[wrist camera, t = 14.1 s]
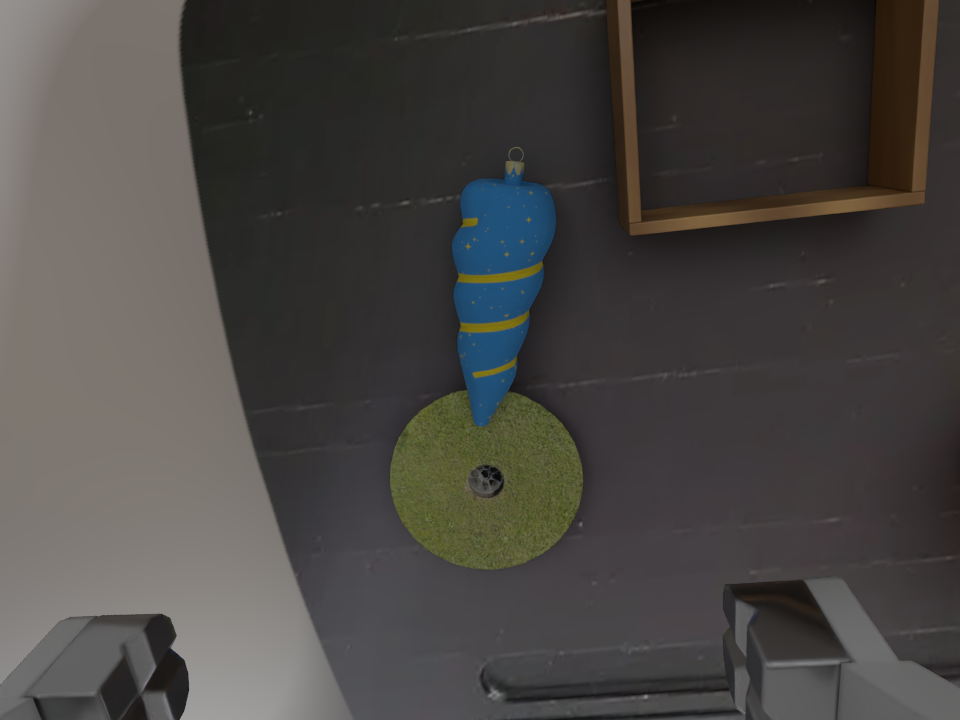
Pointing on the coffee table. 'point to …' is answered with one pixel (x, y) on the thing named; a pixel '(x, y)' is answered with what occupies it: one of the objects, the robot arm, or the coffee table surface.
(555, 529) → the green flat round disc
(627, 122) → the wooden box
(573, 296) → the coffee table surface
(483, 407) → the ornament
